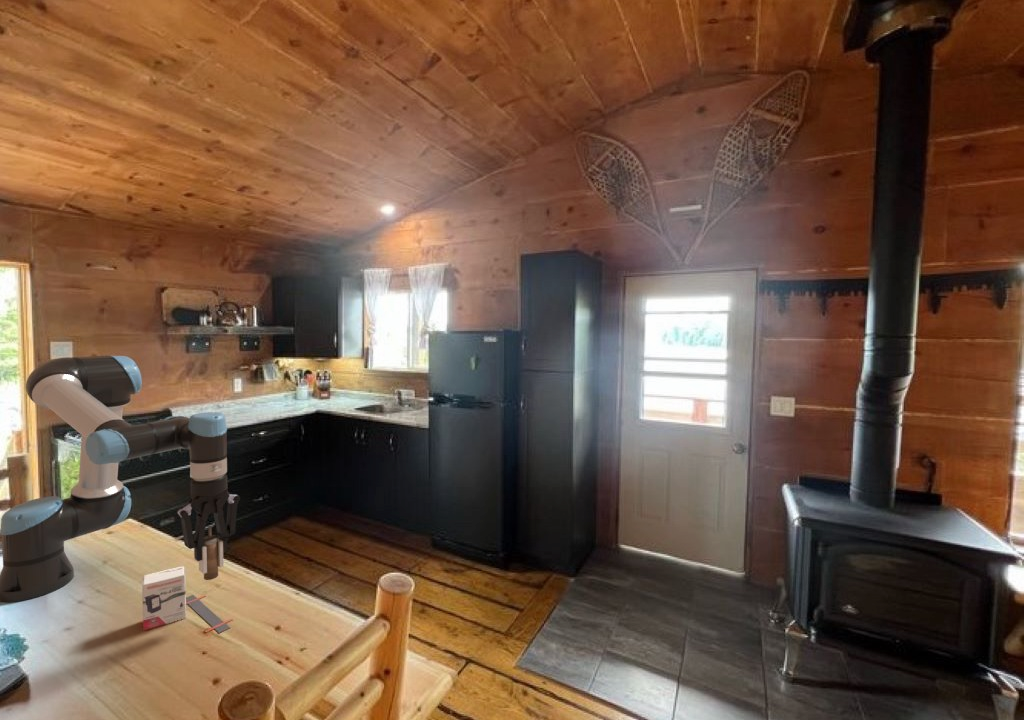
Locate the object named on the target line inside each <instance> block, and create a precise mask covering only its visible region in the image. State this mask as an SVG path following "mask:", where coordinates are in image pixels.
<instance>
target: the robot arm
mask: <svg viewBox="0 0 1024 720" xmlns="http://www.w3.org/2000/svg"><path fill="white" fill-rule="evenodd" d="M142 381H143V380H142V374H141V371H140V369H139V367H138V365H137V364H136V362H135V360H133V359H132V358H130V357H129V356H126V355H111V354H110V355H109V354H108V355H95V356H94V355H93V356H76V357H71V356H70V357H69V356H68V357H58V358H54V359H51V360H48V361H45V362H44V363H42V364H40V365H38V366H37V367H35V369H33V370H32V371H31V372H30V374H29V375H28V377H27V380H26V383H25V391H26V394H27V396H28V397H29V399H30V400H31V401H32V402H33V403H35V404H36V406H38V407H40V408H42V409H46V410H51V411H52V412H53V413H55V415H57V416H58V417H59V418H61V419H62V420H63V421H64V422H65V423H67V424H68V425H69V426H71V428H73V429H74V430H75V431H76V432H77V433H79V434H80V435H81V442H80V454H79V456H80V457H79V467H78V469H79V472H78V483H76V484H75V485H74V486H72V488H71V489H70V496H69V497H67V498H63V499H62V497H60V496H57V495H56V496H55V495H54V496H53V495H49V496H45V497H38V498H34V499H31V500H27V501H25V502H21V503H20V504H17V505H14V506H13V507H11V508H10V509H8V510H7V511H5V512H4V514H3V515H2V516H1V518H0V536H1V537H0V538H1V550H2V551H1V553H2V569H1V572H0V603H1V602H3V603H12V602H20V601H21V602H22V601H27V600H31V599H34V598H39V597H40V596H44V595H47V594H49V593H52V592H55V591H56V590H59V589H61V588H63V587H64V586H66V585H67V584H69V583H70V582H71V581H72V580H73V579H74V577H75V573H74V572H75V571H74V570H75V569H74V566H73V565H72V563H71V561H70V560H69V557H68V556H67V554H66V553H65V542H66V541H70V540H72V539H76V538H78V537H81V536H85V535H87V534H90V533H94V532H97V531H100V530H106V529H109V528H110V527H113V526H116V525H118V524H121V523H122V522H124V521H125V520H126V519H127V517H128V516H129V514H130V511H131V507H132V497H131V492H130V490H129V489H128V487H126V486H125V485H124V483H123V482H122V481H120V480H119V479H118V477H119V476H118V474H119V463H120V462H123V461H128V460H133V459H137V458H141V457H142V458H143V457H145V456H149V455H151V456H152V455H156V454H160V453H165V452H169V451H175V450H179V449H183V450H187V451H189V466H190V467H189V469H190V471H189V477H190V478H191V479H190V499H189V500H188V504H187V505H186V506H184V507H183V508H181V507H180V508H178V509H177V510H176V514H177V515H178V516H179V517H180V522H181V530H182V535H183V543H184V546H186V548H187V549H190V550H192V549H193V553H194V554H193V555H194V556H193V557H194V560H195V561H197V562H198V571H199V572H200V573H202V574H203V575H204V574H205V573H207V547H206V546H204V545H203V541H204V538H205V533H206V526H207V521H208V519H209V515H212V514H213V517H214V524H215V527H216V532H217V536H218V568H222V567H224V552H227V549H228V541H229V539H230V536H233V535H235V534H236V525H237V513H238V512H237V510H238V505H239V502H240V500H241V497H240V496H239V495H238V494H235V493H233V494H232V493H231V494H230V492H229V491H228V475H227V472H228V458H227V454H228V450H227V449H228V448H227V442H228V441H227V439H228V438H227V432H228V427H227V422H226V421H227V420H226V416H225V414H223V413H222V412H212V411H211V412H200V413H199V412H198V413H195V414H192V415H190V417H187V416H183V415H178V416H177V415H173V416H167V417H166V418H164V419H162V420H160V421H159V420H158V421H154V422H147V423H141V424H140V423H139V424H134V425H133V424H130V423H129V422H127V421H126V420H125V419H123V414H124V413H123V411H124V407H126V406H128V405H129V404H130V403H131V396H132V395H136V394H138V393H140V391H141V389H142V386H143V382H142ZM226 503H227V511H226V521H225V518H224V509H223V507H224V506H225V504H226ZM192 510H193V511H195V512H196V515H195V516H196V523H195V529H194V534H193V525H192V519H191V517H190V516H192V515H191V514H192ZM225 522H226V523H225Z"/></svg>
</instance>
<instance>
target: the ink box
mask: <svg viewBox="0 0 1024 720" xmlns="http://www.w3.org/2000/svg"><path fill="white" fill-rule="evenodd" d="M141 581H142V584H141V585H142V590H141V591H142V592H141V593H142V625H143V631H146V630H151V629H154V628H158V627H160V626H163V625H168V624H171V623H174V621H175V622H177V620H178V621H181V619H182V620H186V618H187V605H186V597H187V595H186V594H187V593H186V592H187V591H186V588H187V587H186V586H187V585H186V567H185V566H183V565H182V566H177V567H173V568H169V569H165V570H160V571H157V572H156V571H155V572H153V573H148V574H145V575H143V576H142V580H141Z"/></svg>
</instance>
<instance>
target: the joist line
mask: <svg viewBox="0 0 1024 720" xmlns="http://www.w3.org/2000/svg"><path fill="white" fill-rule="evenodd" d="M205 597H206V595H205V594H204V595H202V596H200V597H196V596H195V595H194V594H191V595H188V596H186V606H187V605H188V607H190V608H191V609H193V611H195V612H196V613H197V615H199V617H201V618H202V619H203V620H204V621H206V622H207V624H208V625H209V626H210V628H209V629H207V630H205V631H204V633H209V632H211V631H213V630H215V631H216V633H219V634H220V633H221V634H222V633H223V632H225V631H227V630H230V629H231V627H230V626H229V625H228V624H227V623H229V622H231V621H233V620H234V619H233V618H229V619H228V620H225V621H223V620H222V619H221V617H219V616H218V615H216V613H214V612H213V611H212V609H210V608H209V607H207V606H206V605H205V604H204V603H203V602H202V601H201V599H204V598H205Z"/></svg>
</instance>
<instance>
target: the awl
mask: <svg viewBox="0 0 1024 720" xmlns="http://www.w3.org/2000/svg"><path fill="white" fill-rule="evenodd" d="M207 529H208V530H207V531H208V533H207V534H208V535H207V536H204V541H203V545H204V546H206V547H207V573H205V574H203V579H204V580H205V581H212V580H214V579H216V578H218V577H219V566H218V539H219V537H218V534H217V535H216V534H214V535H213V531H212V530H213V527H212V525H209V526H208V527H207Z"/></svg>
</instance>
